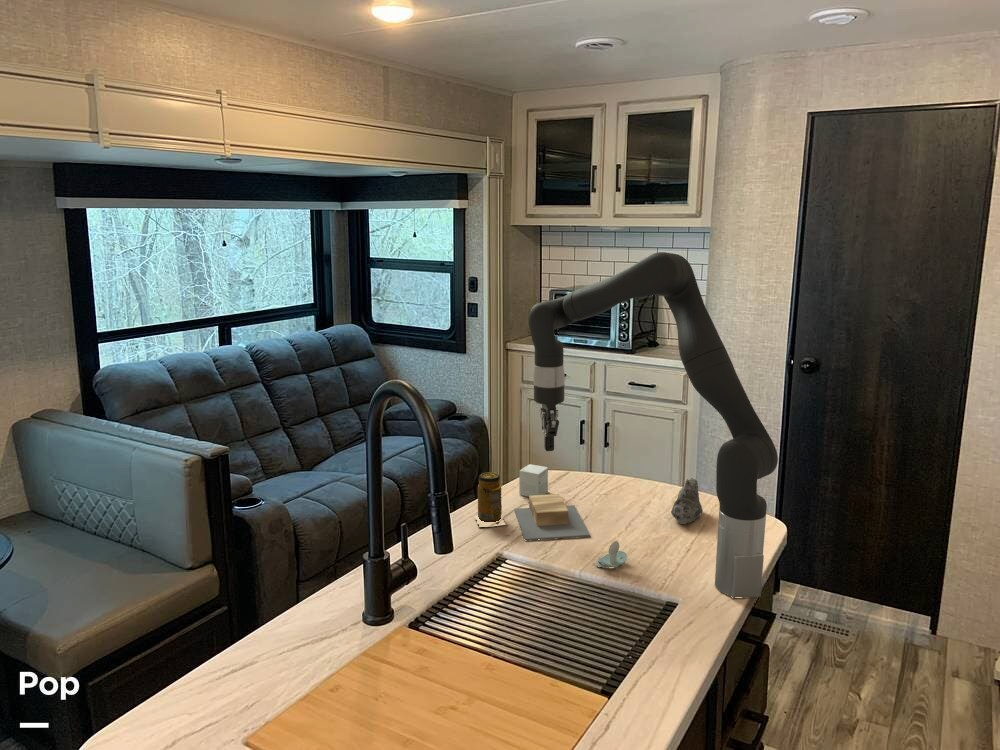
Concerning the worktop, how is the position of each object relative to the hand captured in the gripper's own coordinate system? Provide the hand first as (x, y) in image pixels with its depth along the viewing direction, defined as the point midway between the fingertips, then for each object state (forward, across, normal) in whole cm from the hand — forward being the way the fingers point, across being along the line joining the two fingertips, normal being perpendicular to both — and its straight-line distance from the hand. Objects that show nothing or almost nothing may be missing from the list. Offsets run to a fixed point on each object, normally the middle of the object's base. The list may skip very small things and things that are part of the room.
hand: (549, 450), depth 191 cm
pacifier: (+20, -25, -9) cm, 33 cm away
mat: (+19, -2, 0) cm, 19 cm away
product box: (+19, +18, +1) cm, 26 cm away
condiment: (+19, +2, +15) cm, 24 cm away
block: (+17, -4, 0) cm, 17 cm away
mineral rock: (+19, -3, -34) cm, 40 cm away
